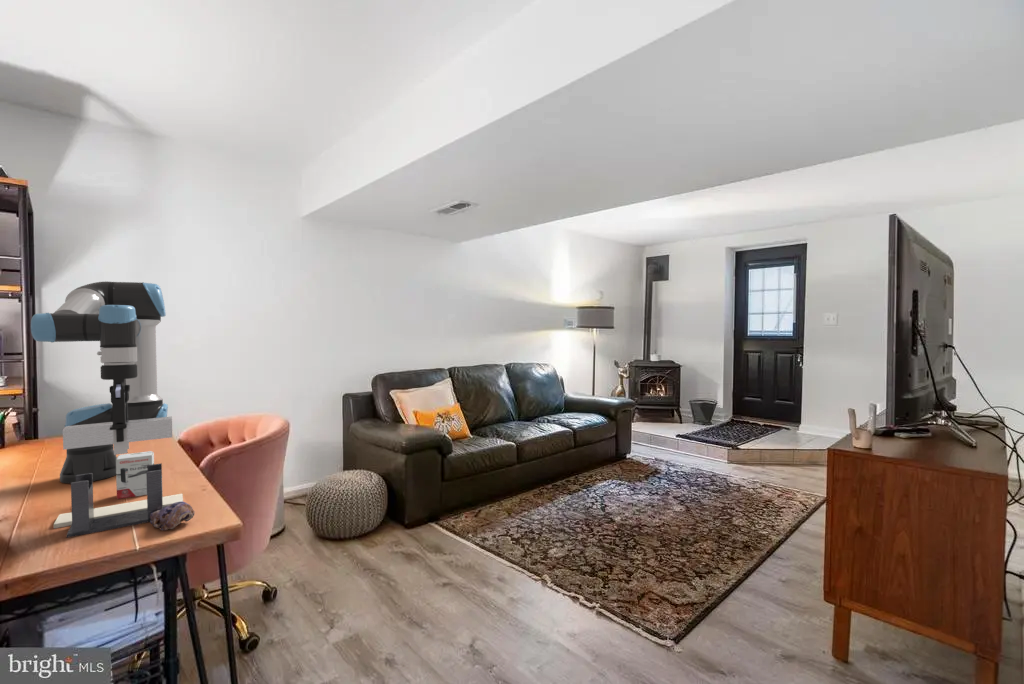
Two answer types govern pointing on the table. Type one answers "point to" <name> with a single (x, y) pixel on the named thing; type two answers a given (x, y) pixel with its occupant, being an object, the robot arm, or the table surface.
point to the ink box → (132, 474)
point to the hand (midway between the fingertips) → (121, 451)
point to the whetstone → (104, 436)
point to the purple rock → (172, 515)
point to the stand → (87, 524)
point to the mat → (117, 509)
